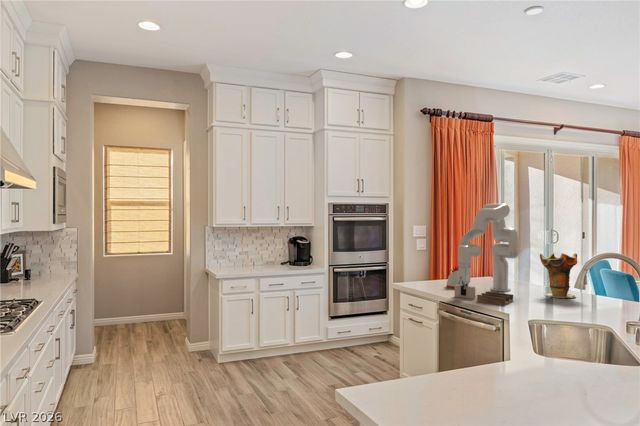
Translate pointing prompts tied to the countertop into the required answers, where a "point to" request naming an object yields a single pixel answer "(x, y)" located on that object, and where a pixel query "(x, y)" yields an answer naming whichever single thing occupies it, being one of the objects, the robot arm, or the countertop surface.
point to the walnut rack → (495, 298)
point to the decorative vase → (559, 274)
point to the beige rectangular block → (469, 292)
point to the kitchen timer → (453, 278)
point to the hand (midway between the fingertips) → (464, 294)
